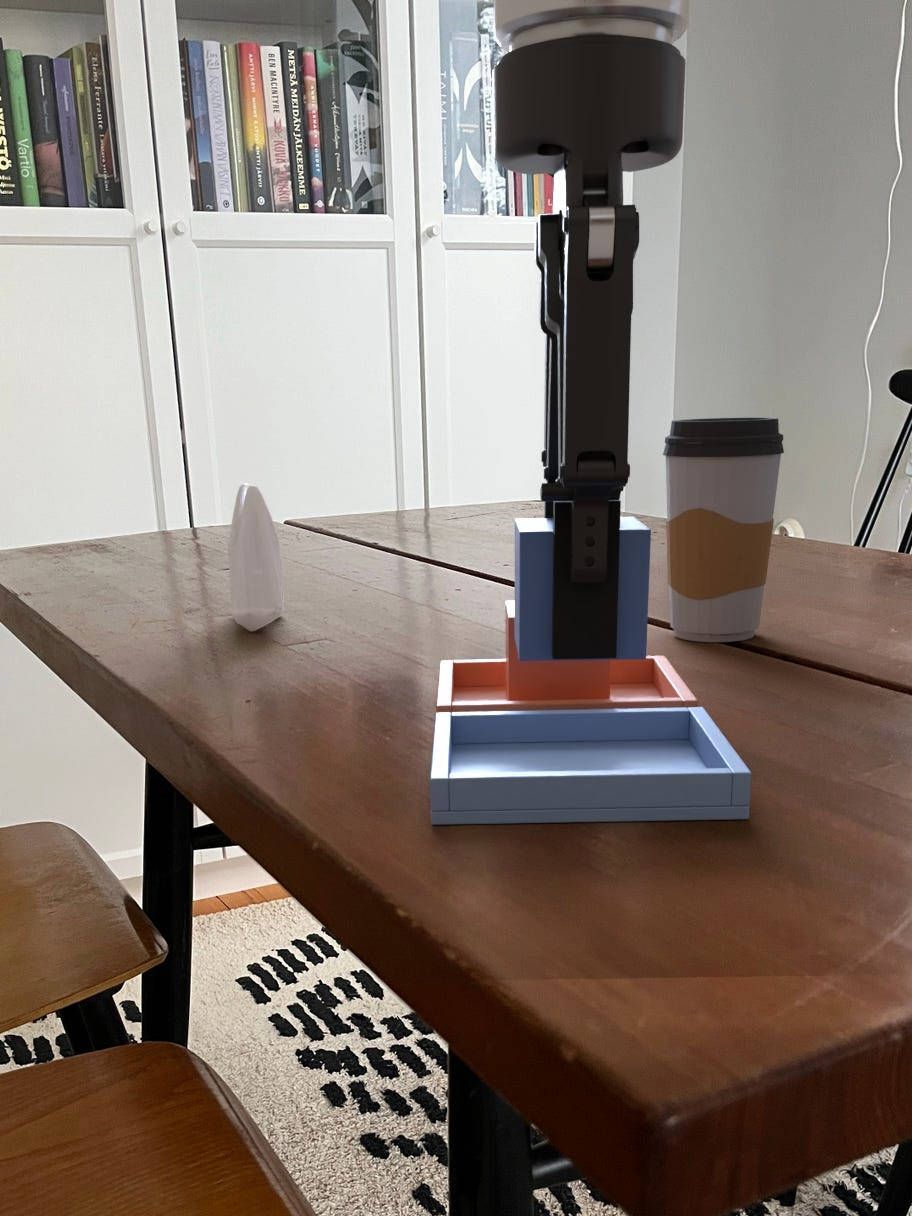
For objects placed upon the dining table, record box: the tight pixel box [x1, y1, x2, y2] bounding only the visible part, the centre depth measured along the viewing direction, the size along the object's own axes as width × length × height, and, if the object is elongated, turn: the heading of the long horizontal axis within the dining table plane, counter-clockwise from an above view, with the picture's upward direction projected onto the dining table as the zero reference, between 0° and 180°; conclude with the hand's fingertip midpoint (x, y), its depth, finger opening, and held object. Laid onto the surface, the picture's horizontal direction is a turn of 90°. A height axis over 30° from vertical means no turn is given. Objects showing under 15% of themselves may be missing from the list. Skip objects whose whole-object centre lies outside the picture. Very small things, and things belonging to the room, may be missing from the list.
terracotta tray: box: [436, 655, 699, 714], centre depth 71 cm, size 14×12×2 cm
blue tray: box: [429, 706, 753, 826], centre depth 59 cm, size 14×12×2 cm
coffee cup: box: [662, 417, 785, 643], centre depth 90 cm, size 8×8×15 cm
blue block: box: [514, 516, 652, 661], centre depth 56 cm, size 6×6×6 cm
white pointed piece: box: [227, 483, 286, 632], centre depth 100 cm, size 12×4×11 cm, turn 7°
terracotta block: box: [504, 600, 611, 701], centre depth 71 cm, size 6×6×6 cm
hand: (577, 642), depth 57 cm, fingers closed on blue block, 5 cm apart
